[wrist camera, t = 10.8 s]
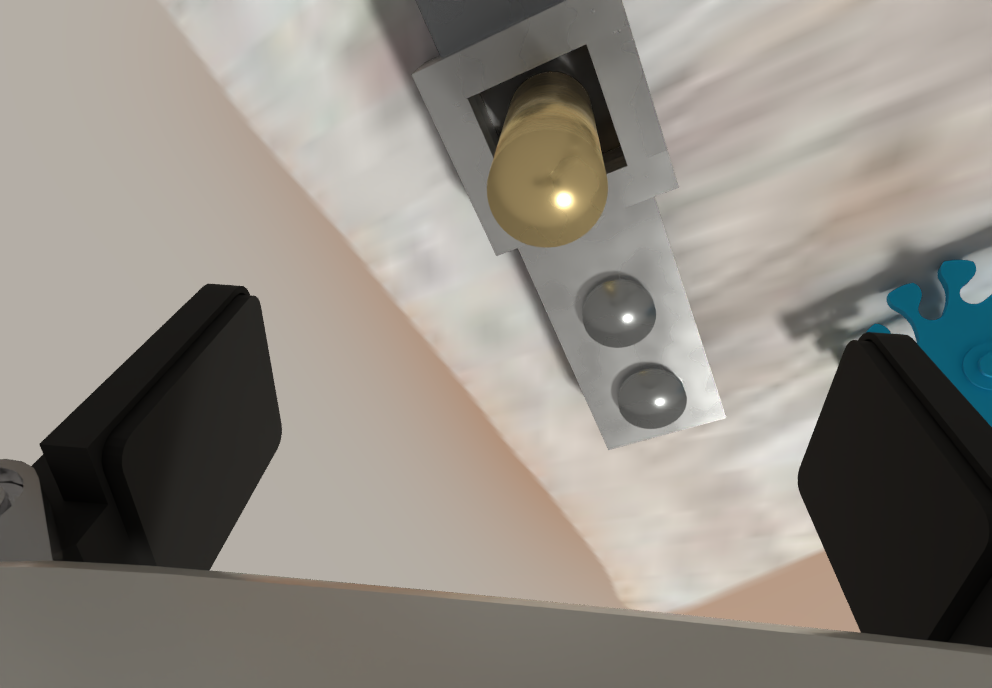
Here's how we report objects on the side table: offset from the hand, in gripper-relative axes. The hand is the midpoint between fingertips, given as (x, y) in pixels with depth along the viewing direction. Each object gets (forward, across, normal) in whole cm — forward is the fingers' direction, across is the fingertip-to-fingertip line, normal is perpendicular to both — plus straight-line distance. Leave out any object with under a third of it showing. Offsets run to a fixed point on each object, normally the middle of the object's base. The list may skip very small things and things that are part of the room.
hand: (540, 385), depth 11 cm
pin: (+20, 0, 0) cm, 20 cm away
